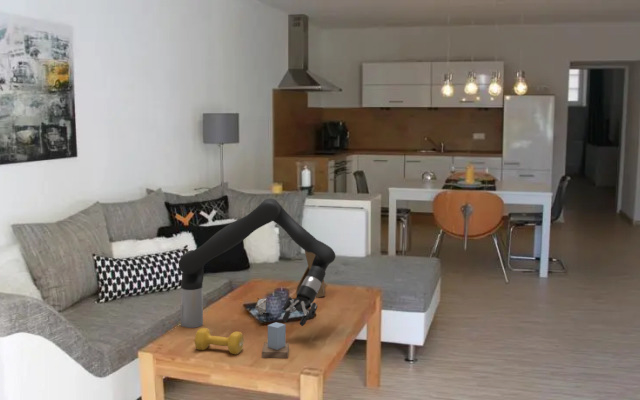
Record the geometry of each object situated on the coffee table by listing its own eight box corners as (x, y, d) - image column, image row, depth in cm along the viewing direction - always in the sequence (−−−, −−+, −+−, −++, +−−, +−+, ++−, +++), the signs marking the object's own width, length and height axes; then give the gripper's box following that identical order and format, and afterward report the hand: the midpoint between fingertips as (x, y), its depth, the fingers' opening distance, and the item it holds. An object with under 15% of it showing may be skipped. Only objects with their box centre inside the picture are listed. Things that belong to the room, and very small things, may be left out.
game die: (266, 323, 311) (269, 310, 304) (249, 315, 312) (252, 303, 305) (274, 309, 317) (277, 297, 310) (258, 302, 318) (261, 289, 311)
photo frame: (324, 285, 360) (324, 240, 357) (324, 297, 339) (324, 249, 335) (297, 285, 361) (297, 240, 357) (295, 297, 339) (294, 249, 335)
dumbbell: (192, 351, 266) (192, 332, 264) (202, 344, 274) (202, 324, 273) (236, 357, 260) (236, 337, 259) (245, 349, 269) (245, 329, 268)
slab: (261, 359, 260) (261, 351, 260) (264, 349, 270) (264, 342, 270) (287, 359, 260) (287, 352, 260) (288, 350, 270) (289, 342, 270)
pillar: (267, 347, 264) (267, 325, 263) (275, 343, 268) (275, 322, 267) (277, 349, 262) (277, 327, 260) (285, 346, 265) (285, 324, 264)
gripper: (291, 281, 281) (275, 315, 274) (319, 287, 273) (302, 321, 266) (299, 291, 287) (283, 324, 279) (326, 296, 279) (310, 330, 271)
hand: (292, 322), depth 272 cm, fingers open, 8 cm apart
